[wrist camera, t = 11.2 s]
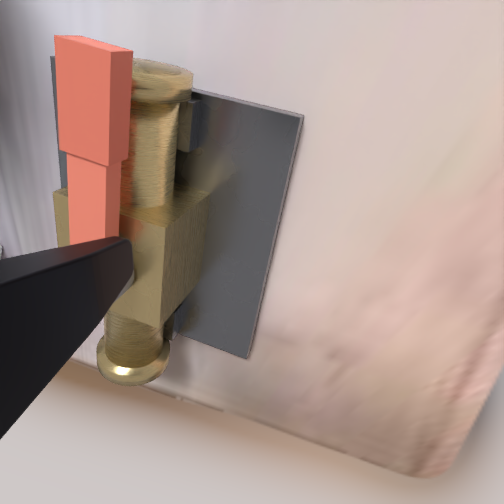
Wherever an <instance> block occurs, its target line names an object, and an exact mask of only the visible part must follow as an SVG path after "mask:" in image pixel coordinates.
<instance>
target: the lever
mask: <svg viewBox="0 0 504 504" xmlns="http://www.w3.org/2000/svg"><path fill="white" fill-rule="evenodd" d="M54 42H55V64H56V86H57V108H58V130H59V150H62V151H65V152H67V179H68V206H69V234H70V245H73V244H78V243H83V242H88V241H92V240H97V239H102V238H107V237H112V236H118V237H119V211H120V186H121V161H123V160H125V159H127V158H128V149H129V128H130V107H131V86H132V65H133V51H132V50H128V49H125V48H121V47H118V46H114V45H111V44H107V43H104V42H100V41H97V40H93V39H90V38H86V37H83V36H63V35H54ZM133 281H134V270H133V274H132V276H131V278H130V280H129V281H128V282H127V284H126V285H125V287H124V288H123V290H122V291H121V293H120V294H119V296H118V297H117V299H118V298H120V297H121V296H122V295H123V294H124V293H125V292H126V291H127V290H128V289H129V288H130V287H131V286H132V284H133ZM117 299H116V300H117ZM116 300H115V301H116ZM115 301H114V302H115Z"/></svg>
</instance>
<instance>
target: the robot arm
mask: <svg viewBox="0 0 504 504" xmlns="http://www.w3.org/2000/svg"><path fill="white" fill-rule="evenodd" d="M133 270H134V264H133V251H132V243H131V241H130V240H129V239H126V238H122V237H118V236H112V237H107V238H102V239H97V240H92V241H88V242H83V243H78V244H73V245H68V246H64V247H59V248H54V249H49V250H44V251H39V252H35V253H30V254H25V255H20V256H15V257H11V258H6V259H1V260H0V439H1V438H2V437H3V436H4V435H5V434H6V432H7V431H8V430H9V429H10V427H11V426H12V425H13V424H14V423H15V422H16V421H17V419H18V418H19V417H20V416H21V415H22V414H23V412H24V411H25V410H26V409H27V408H28V406H29V405H30V404H31V403H32V402H33V401H34V399H35V398H36V397H37V396H38V395H39V394H40V392H41V391H42V390H43V389H44V388H45V387H46V385H47V384H48V383H49V382H50V381H51V379H52V378H53V377H54V376H55V375H56V374H57V372H58V371H59V370H60V369H61V368H62V367H63V365H64V364H65V363H66V362H67V361H68V360H69V358H70V357H71V356H72V355H73V354H74V352H75V351H76V350H77V349H78V348H79V347H80V345H81V344H82V343H83V342H84V341H85V340H86V338H87V337H88V336H89V335H90V334H91V332H92V331H93V330H94V329H95V328H96V326H97V325H98V324H99V323H100V321H101V320H102V319H103V317H104V316H105V315H106V313H107V312H108V310H109V309H110V307H111V306H112V304H113V303H114V301H115V300H116V299H117V297H118V296H119V294H120V293H121V291H122V290H123V288H124V287H125V285H126V284H127V282H128V281H129V280H130V278H131V276H132V274H133Z"/></svg>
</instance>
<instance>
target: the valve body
mask: <svg viewBox="0 0 504 504" xmlns="http://www.w3.org/2000/svg"><path fill="white" fill-rule="evenodd" d="M50 58H51V70H52V82H53V94H54V106H55V118H56V130H57V142H58V154H59V166H60V177H61V189H59V190H57V191H54V192H53V200H54V210H55V221H56V231H57V241H58V248H59V247H64V246H68V245H70V234H69V206H68V179H67V152H65V151H62V150H59V130H58V108H57V86H56V64H55V56H50ZM192 82H193V73H192V72H190V71H188V70H186V69H183V68H180V67H177V66H174V65H170V64H166V63H161V62H156V61H151V60H145V59H139V58H133V65H132V86H131V107H130V128H129V149H128V158H127V159H125V160H123V161H121V186H120V211H119V237H122V238H126V239H129V240H130V241H131V243H132V251H133V264H134V281H133V284H132V286H131V287H130V288H129V289H128V290H127V291H126V292H125V293H124V294H123V295H122V296H121V297H120V298H118V299H117V300H116V301H115V302H114V303H113V304H112V306H111V307H110V309H109V310H108V312H107V313H106V315H105V316H104V336H103V337H102V338H101V339H100V341H99V343H98V345H97V351H96V352H97V366H98V370H99V371H100V373H101V374H102V376H103V377H104V378H106V379H107V380H109V381H111V382H113V383H115V384H118V385H124V386H137V385H142V384H145V383H148V382H151V381H153V380H154V379H156V378H157V377H159V376H160V375H161V374H162V373H163V372H164V371H165V369H166V367H167V365H168V362H169V353H170V343H169V340H171V341H172V340H173V339H174V338H175V336H176V335H177V334H181V335H184V336H186V337H189V338H192V339H194V340H197V341H200V342H202V343H205V344H207V345H210V346H213V347H215V348H218V349H221V350H223V351H226V352H229V353H231V354H234V355H237V356H239V357H242V358H245V359H247V357H248V355H249V353H250V350H251V345H252V341H253V337H254V332H255V328H256V323H257V319H258V315H259V310H260V306H261V302H262V297H263V293H264V288H265V284H266V280H267V275H268V271H269V267H270V262H271V258H272V253H273V249H274V245H275V240H276V236H277V232H278V227H279V223H280V218H281V214H282V210H283V205H284V201H285V197H286V192H287V188H288V183H289V179H290V175H291V170H292V166H293V162H294V157H295V153H296V148H297V144H298V140H299V135H300V131H301V127H302V122H303V118H304V115H301V114H297V113H293V112H289V111H285V110H281V109H277V108H273V107H269V106H265V105H260V104H256V103H252V102H248V101H244V100H240V99H236V98H232V97H228V96H224V95H219V94H215V93H211V92H207V91H203V90H199V89H195V88H192ZM168 339H169V340H168Z"/></svg>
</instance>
